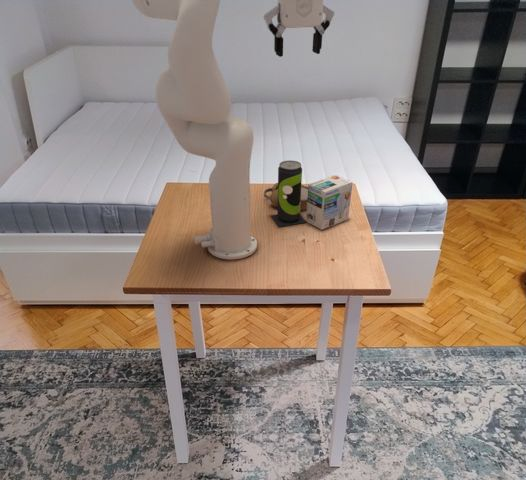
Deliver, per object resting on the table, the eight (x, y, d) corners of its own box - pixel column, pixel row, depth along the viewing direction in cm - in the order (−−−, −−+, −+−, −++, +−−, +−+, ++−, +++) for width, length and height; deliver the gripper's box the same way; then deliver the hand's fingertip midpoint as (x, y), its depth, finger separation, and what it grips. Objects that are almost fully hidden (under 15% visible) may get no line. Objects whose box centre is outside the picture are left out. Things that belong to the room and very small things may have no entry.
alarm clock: (315, 202, 140) (263, 191, 140) (311, 218, 143) (260, 207, 143) (316, 186, 149) (267, 175, 148) (312, 201, 152) (264, 191, 151)
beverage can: (287, 211, 142) (288, 158, 132) (304, 217, 139) (307, 164, 129) (272, 218, 139) (273, 164, 129) (289, 225, 136) (291, 170, 126)
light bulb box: (321, 230, 134) (325, 192, 127) (304, 221, 138) (307, 184, 131) (349, 219, 139) (353, 181, 132) (332, 210, 143) (335, 173, 136)
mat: (279, 227, 135) (279, 226, 135) (270, 216, 140) (270, 215, 140) (306, 223, 137) (306, 222, 137) (297, 212, 142) (297, 211, 142)
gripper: (269, -32, 106) (269, 59, 117) (343, -34, 110) (336, 54, 121) (258, -34, 111) (259, 53, 123) (329, -36, 116) (324, 49, 127)
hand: (297, 54), depth 122 cm, fingers open, 9 cm apart
